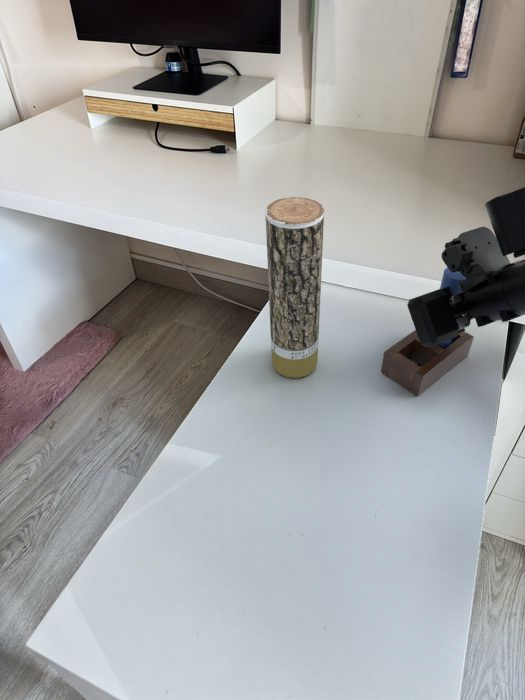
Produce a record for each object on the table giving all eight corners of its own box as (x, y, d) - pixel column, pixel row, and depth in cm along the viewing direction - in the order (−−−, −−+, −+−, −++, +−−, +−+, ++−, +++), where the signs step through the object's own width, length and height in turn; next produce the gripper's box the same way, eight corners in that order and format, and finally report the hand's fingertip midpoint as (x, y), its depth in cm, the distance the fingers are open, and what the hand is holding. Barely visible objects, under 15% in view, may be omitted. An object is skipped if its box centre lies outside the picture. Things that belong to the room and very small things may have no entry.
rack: (467, 356, 75) (474, 336, 72) (417, 396, 70) (422, 376, 67) (430, 335, 79) (435, 315, 76) (380, 371, 73) (383, 351, 71)
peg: (444, 361, 73) (466, 282, 64) (422, 354, 74) (440, 275, 65) (450, 348, 75) (472, 269, 66) (429, 342, 76) (447, 263, 67)
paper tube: (321, 352, 77) (329, 199, 60) (311, 384, 72) (316, 228, 55) (279, 345, 79) (274, 194, 62) (266, 375, 74) (257, 221, 57)
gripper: (561, 201, 59) (472, 241, 74) (432, 242, 54) (364, 276, 69) (592, 291, 59) (497, 313, 74) (466, 340, 54) (391, 353, 69)
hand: (439, 312), depth 71 cm, fingers closed on peg, 3 cm apart
